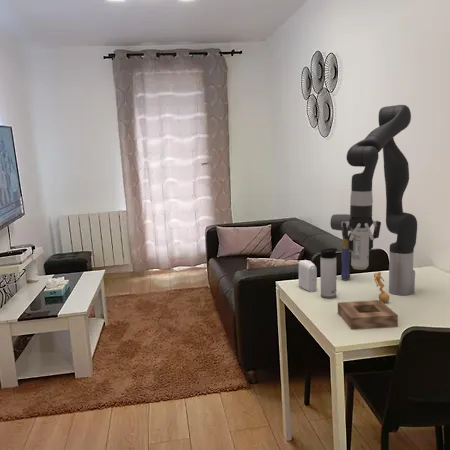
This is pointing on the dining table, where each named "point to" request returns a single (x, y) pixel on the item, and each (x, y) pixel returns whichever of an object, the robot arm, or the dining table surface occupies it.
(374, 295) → the dining table surface
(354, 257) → the energy drink can
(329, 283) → the travel mug
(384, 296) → the figurine
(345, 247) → the rubber mallet
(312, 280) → the photo printer
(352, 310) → the wooden square frame
